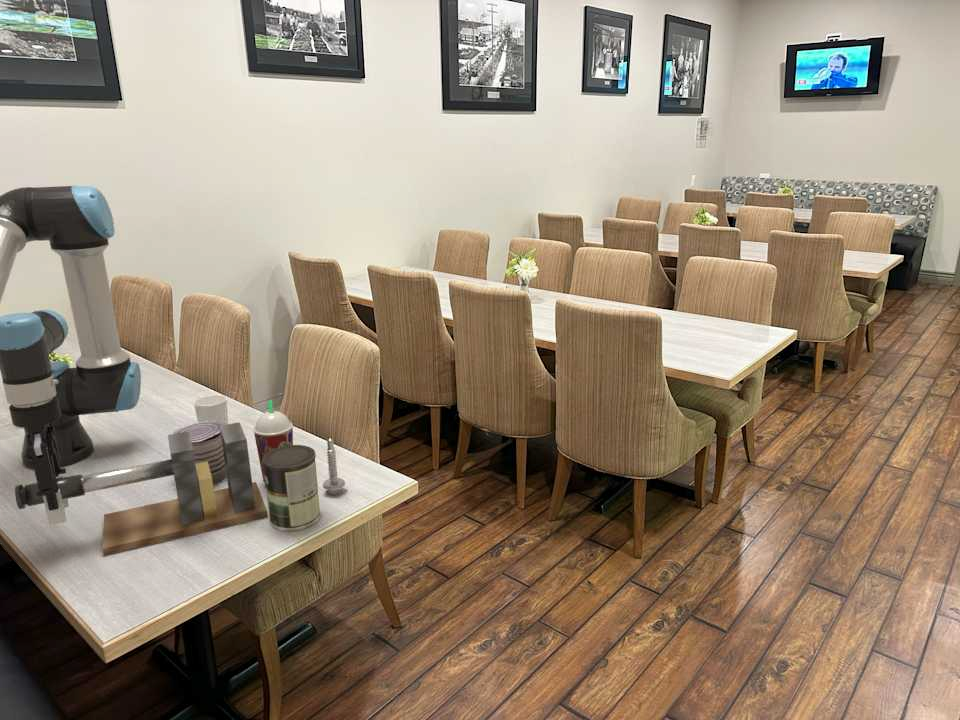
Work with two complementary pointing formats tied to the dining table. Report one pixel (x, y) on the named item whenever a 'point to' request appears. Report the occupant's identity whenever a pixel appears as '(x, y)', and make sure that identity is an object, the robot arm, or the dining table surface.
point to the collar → (206, 489)
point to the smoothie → (272, 433)
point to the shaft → (95, 482)
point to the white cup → (211, 409)
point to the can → (208, 447)
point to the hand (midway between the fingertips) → (59, 514)
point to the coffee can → (291, 487)
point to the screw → (332, 471)
